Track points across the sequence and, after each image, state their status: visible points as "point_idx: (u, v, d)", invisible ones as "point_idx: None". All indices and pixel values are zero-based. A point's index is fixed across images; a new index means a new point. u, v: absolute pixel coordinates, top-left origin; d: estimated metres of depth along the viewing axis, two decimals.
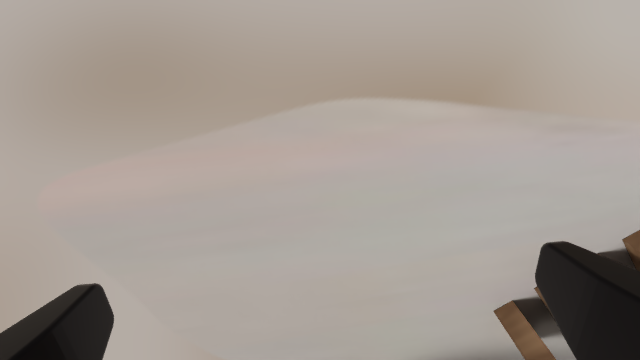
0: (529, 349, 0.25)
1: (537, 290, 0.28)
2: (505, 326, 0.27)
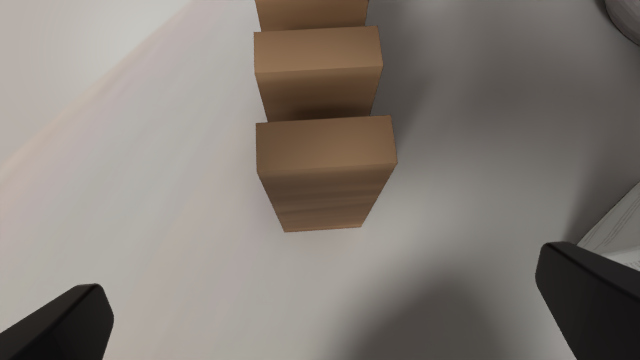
0: None
1: None
2: None
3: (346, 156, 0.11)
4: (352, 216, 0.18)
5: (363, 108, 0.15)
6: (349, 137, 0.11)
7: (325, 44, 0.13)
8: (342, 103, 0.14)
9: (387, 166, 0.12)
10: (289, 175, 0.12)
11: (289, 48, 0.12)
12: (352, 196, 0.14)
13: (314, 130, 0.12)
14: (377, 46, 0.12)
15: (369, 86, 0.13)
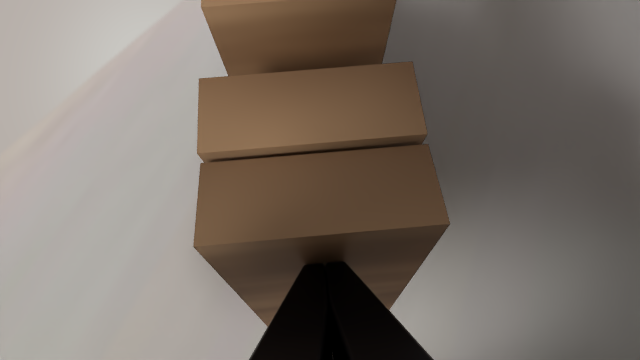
0: None
1: None
2: None
3: (357, 214, 0.06)
4: None
5: None
6: (360, 182, 0.07)
7: (324, 98, 0.07)
8: None
9: (430, 231, 0.06)
10: (255, 252, 0.07)
11: (260, 106, 0.07)
12: (367, 283, 0.09)
13: (299, 172, 0.07)
14: (414, 98, 0.07)
15: None
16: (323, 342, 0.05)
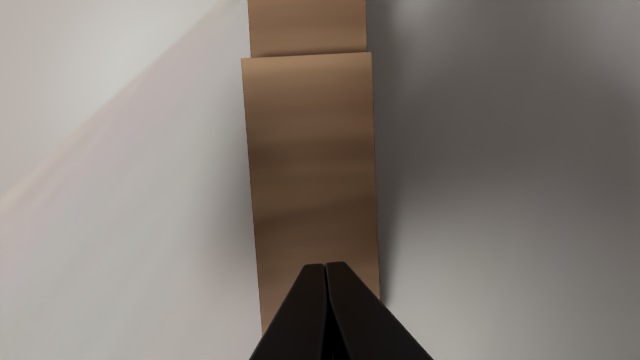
0: None
1: None
2: None
3: (325, 56, 0.12)
4: (358, 266, 0.13)
5: (357, 52, 0.14)
6: None
7: None
8: (333, 38, 0.14)
9: (363, 62, 0.12)
10: (270, 75, 0.12)
11: None
12: (343, 160, 0.13)
13: None
14: None
15: (357, 6, 0.13)
16: (323, 342, 0.05)
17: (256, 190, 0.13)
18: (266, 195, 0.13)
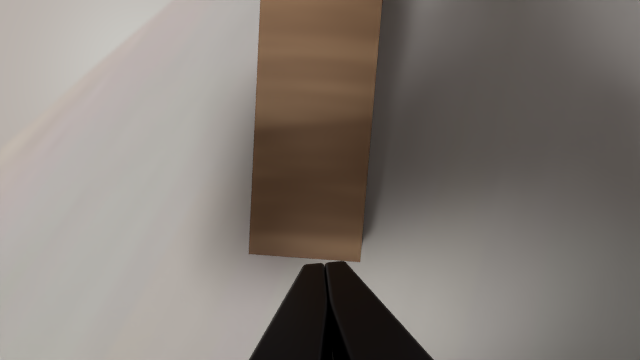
0: None
1: None
2: (251, 212, 0.14)
3: None
4: (346, 185, 0.14)
5: None
6: None
7: None
8: None
9: None
10: None
11: None
12: (345, 81, 0.13)
13: None
14: None
15: None
16: (323, 342, 0.05)
17: (260, 100, 0.13)
18: (269, 106, 0.13)
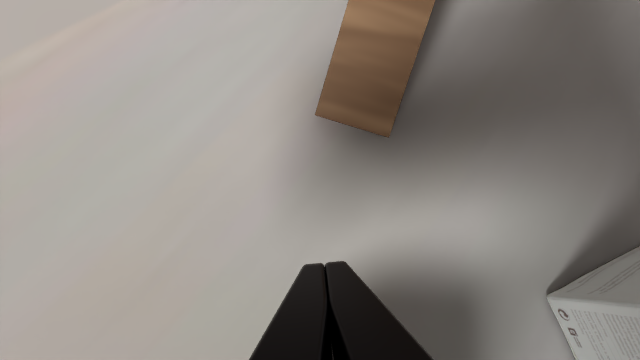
0: None
1: None
2: (323, 86, 0.20)
3: None
4: (393, 81, 0.20)
5: None
6: None
7: None
8: None
9: None
10: None
11: None
12: (410, 8, 0.19)
13: None
14: None
15: None
16: (323, 342, 0.05)
17: (350, 7, 0.19)
18: (355, 13, 0.19)
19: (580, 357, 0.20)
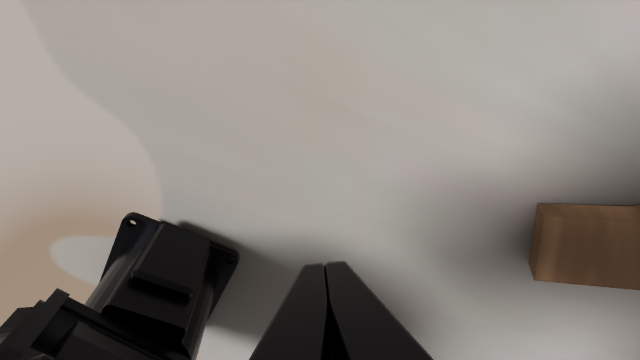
0: (627, 215, 0.19)
1: None
2: (578, 217, 0.20)
3: None
4: (594, 275, 0.21)
5: None
6: None
7: None
8: None
9: None
10: None
11: None
12: None
13: None
14: None
15: None
16: (323, 342, 0.05)
17: None
18: None
19: None
